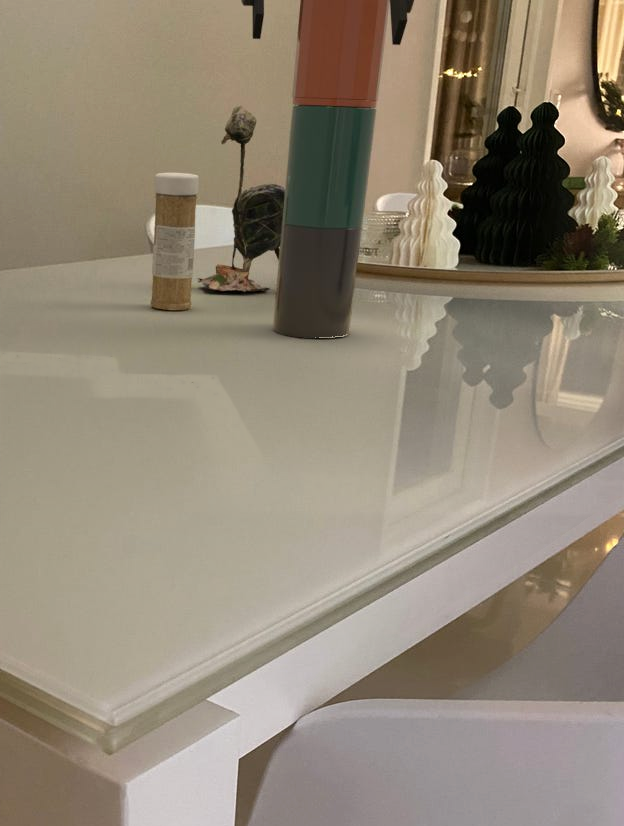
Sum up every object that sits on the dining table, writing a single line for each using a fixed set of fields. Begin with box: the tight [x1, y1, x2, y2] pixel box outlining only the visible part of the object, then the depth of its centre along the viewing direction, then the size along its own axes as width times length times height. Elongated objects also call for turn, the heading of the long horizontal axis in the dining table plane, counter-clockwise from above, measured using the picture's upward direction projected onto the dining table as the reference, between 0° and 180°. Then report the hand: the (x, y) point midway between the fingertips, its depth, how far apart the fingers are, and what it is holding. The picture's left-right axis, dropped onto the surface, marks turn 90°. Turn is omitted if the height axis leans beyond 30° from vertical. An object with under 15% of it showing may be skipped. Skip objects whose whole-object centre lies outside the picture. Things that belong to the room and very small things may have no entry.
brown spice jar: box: [150, 172, 200, 311], centre depth 111 cm, size 5×5×13 cm
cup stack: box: [272, 105, 377, 339], centre depth 100 cm, size 8×8×20 cm
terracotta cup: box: [291, 0, 390, 109], centre depth 92 cm, size 8×8×12 cm
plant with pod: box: [196, 105, 285, 293], centre depth 123 cm, size 8×11×20 cm
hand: (329, 30), depth 100 cm, fingers open, 13 cm apart
